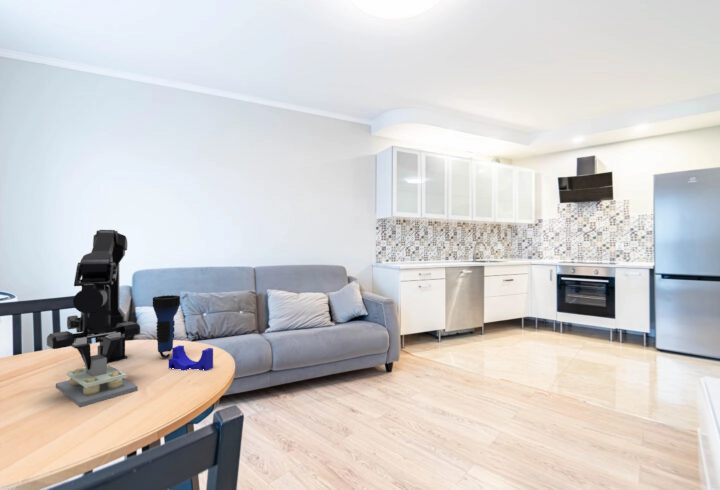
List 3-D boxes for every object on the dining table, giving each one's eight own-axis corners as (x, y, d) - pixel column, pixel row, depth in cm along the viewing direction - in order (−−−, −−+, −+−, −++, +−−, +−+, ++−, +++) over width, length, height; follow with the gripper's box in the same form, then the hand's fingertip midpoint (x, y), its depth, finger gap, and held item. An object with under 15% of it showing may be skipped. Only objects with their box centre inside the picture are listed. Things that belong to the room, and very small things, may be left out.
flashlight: (176, 361, 116) (176, 298, 116) (148, 362, 114) (149, 298, 114) (182, 353, 124) (182, 294, 124) (156, 355, 122) (157, 295, 122)
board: (105, 366, 101) (105, 348, 101) (126, 377, 92) (126, 358, 92) (66, 375, 94) (67, 356, 94) (85, 387, 86) (85, 367, 86)
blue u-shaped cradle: (168, 369, 108) (168, 349, 108) (179, 364, 113) (179, 345, 113) (203, 373, 105) (203, 352, 105) (213, 368, 110) (213, 348, 110)
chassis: (109, 374, 104) (109, 358, 104) (137, 390, 92) (137, 372, 92) (55, 387, 94) (55, 369, 94) (80, 406, 83) (80, 387, 83)
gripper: (124, 299, 105) (124, 353, 105) (40, 308, 91) (40, 371, 91) (141, 303, 99) (141, 360, 99) (53, 313, 84) (53, 381, 84)
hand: (96, 367), depth 93 cm, fingers closed on board, 3 cm apart
